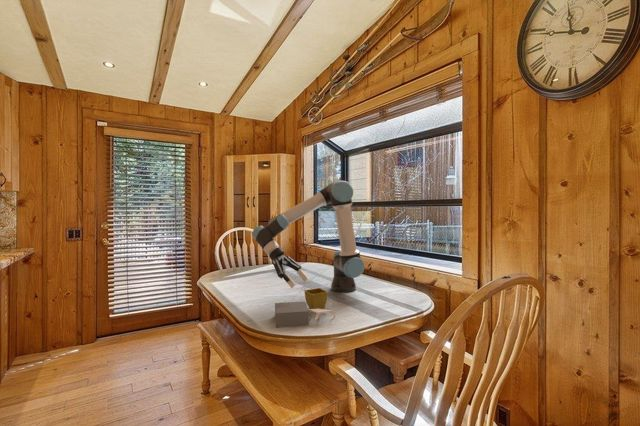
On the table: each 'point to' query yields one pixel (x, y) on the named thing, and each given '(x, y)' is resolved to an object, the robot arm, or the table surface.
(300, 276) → the robot arm
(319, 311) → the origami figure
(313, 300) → the flower pot
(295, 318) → the base block
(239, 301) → the table surface
